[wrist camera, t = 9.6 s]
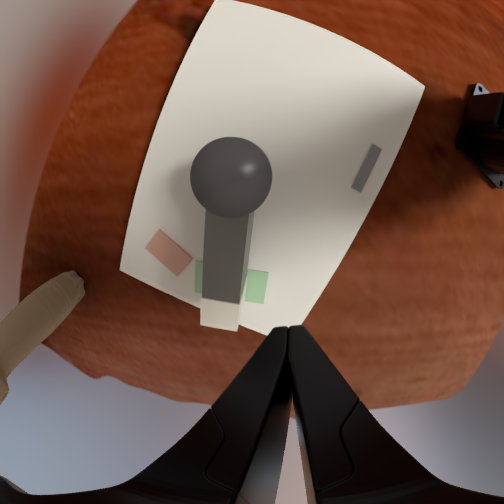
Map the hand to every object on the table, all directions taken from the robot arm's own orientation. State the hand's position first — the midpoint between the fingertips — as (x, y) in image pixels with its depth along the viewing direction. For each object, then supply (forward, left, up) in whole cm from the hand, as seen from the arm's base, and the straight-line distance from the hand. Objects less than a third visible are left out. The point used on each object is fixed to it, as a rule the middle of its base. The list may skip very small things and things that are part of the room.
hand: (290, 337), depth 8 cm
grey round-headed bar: (+3, +1, -11) cm, 11 cm away
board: (+3, -2, -12) cm, 13 cm away
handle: (+16, +14, -12) cm, 25 cm away
